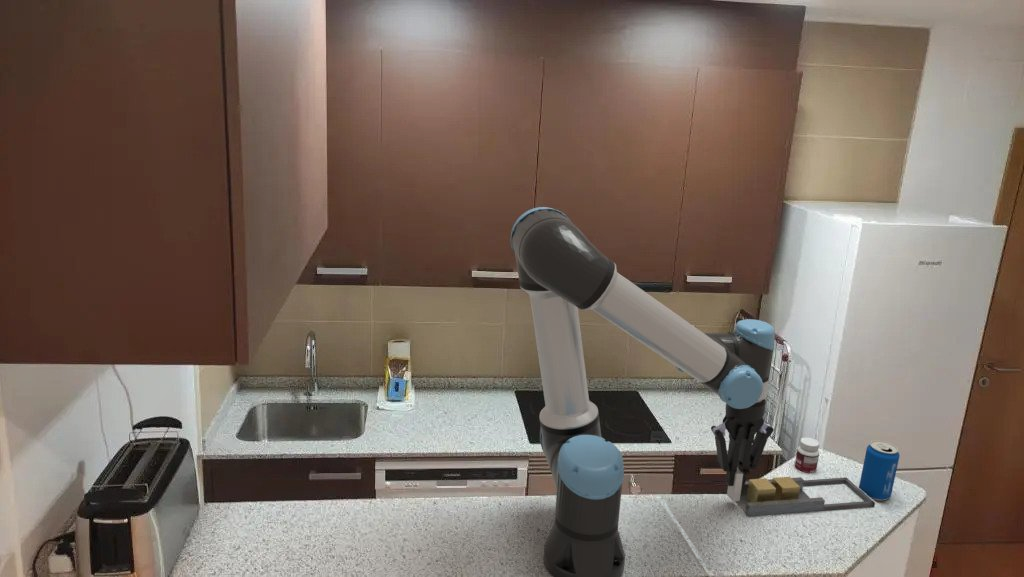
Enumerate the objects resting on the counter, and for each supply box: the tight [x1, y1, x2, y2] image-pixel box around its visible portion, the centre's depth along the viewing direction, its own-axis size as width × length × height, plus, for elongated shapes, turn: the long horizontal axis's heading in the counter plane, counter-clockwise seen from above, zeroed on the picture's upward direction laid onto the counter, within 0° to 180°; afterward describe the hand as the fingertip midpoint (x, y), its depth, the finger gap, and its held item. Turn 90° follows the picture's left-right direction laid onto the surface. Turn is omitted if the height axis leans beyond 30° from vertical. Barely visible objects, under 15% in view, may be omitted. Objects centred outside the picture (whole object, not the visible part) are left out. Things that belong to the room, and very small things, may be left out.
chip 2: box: [772, 476, 800, 501], centre depth 152 cm, size 4×4×4 cm
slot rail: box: [735, 476, 826, 518], centre depth 152 cm, size 17×9×4 cm, turn 100°
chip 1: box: [746, 477, 776, 503], centre depth 151 cm, size 4×4×4 cm
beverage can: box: [858, 439, 900, 502], centre depth 157 cm, size 6×6×12 cm
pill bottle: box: [794, 437, 820, 474], centre depth 165 cm, size 5×5×8 cm
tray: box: [803, 476, 876, 512], centre depth 155 cm, size 12×10×2 cm
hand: (733, 497), depth 150 cm, fingers closed
